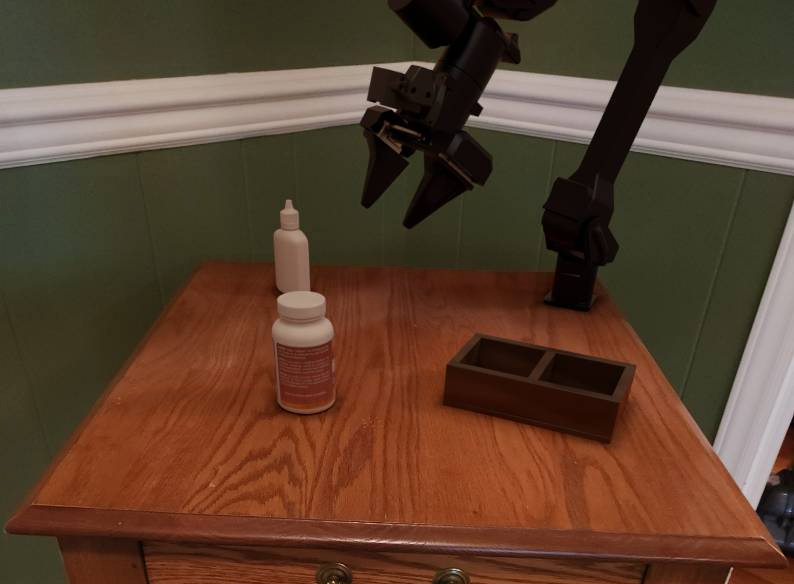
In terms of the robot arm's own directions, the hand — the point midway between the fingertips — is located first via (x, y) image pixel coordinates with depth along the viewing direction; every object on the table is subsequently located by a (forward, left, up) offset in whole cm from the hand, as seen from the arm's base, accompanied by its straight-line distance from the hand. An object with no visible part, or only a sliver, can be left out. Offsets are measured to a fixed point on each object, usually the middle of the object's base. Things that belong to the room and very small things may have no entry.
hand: (384, 216), depth 81 cm
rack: (+7, +22, -15) cm, 27 cm away
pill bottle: (+18, 0, -15) cm, 24 cm away
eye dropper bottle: (-10, -18, -15) cm, 25 cm away
